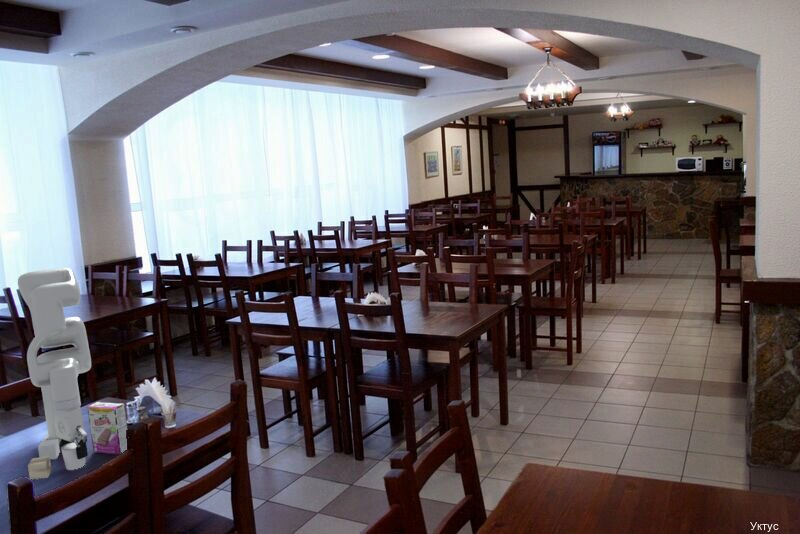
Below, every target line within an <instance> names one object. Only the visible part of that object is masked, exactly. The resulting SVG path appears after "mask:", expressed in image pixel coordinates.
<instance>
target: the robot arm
mask: <svg viewBox="0 0 800 534" xmlns="http://www.w3.org/2000/svg"><path fill="white" fill-rule="evenodd" d="M76 277H77V276H76V275H75V273H74V271H73V270H72V269H71V268H68V267H61V268H54V269H53V268H52V269H43V270H37V271H36V270H35V271H30V272H26V273H23V274H21V275H20V276H19V277H18V278H17V286H18V289H19V293H20V295H21V297H22V299H23V300H24V302H25V303H26V305H27V306H28V308H29V311H30V315H31V323H32V326H33V330H34V331H33V333H34V336H35V337H33V338H32V341H31V342H30V343H29V346H28V348H27V353H26V362H27V368H28V373H29V378H30V381H31V383H32V385H33V386H35V387H37V388H41V393H42V403H43V410H44V415H45V421H46V422H45V423H46V428H47V429H46V430H47V434H46V435H45V436H44V437H43V441H46V440H53V439H58V442H59V448H60V453H61V454H62V450H61V448H62V447H63V446H64V445H66V444H68V443H71V442H75V444H76V446H77V447H76V454H77V459H82V458H84V457H85V458H87V457H88V455H89V453H88V447H87V445H88V433H87V432H86V430H85V429H86V428H85V424H84V422H85V421H84V418H83V417H84V416H83V414H82V411H81V405H82V404H81V403H82V402H81V396H80V390H79V383H78V376H79V374H84V373H87V372H88V371H90V370H91V368H92V357H91V351H90V348H89V346H90V345H89V341H88V335H87V330H86V326H85V324H84V321H83V319H82V318H80V317H79V316H70V317H69V316H68V317H65V313H64V308H68V307H73V306H77V305H79V304H80V302H81V299H82V297H81V289H80V286H79V282H78V281H77V278H76ZM69 345H73V346H74V347H69V348H63V349H57V350H51V351H48V352H44V353H41V354H40V355H38V351H39V349H40V348H41V349H49V348H57V347H61V346H69ZM37 355H38V356H37ZM78 441H79V442H78Z"/></svg>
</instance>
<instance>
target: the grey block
mask: <svg viewBox="0 0 800 534" xmlns="http://www.w3.org/2000/svg"><path fill="white" fill-rule="evenodd" d="M37 450H38V456H39V457H46V456H50V459H52V460H57V459H58V457H59V455H60V454H59V453H61V448H60V444H59V442H58V439H53V440H46V441H44V440H42V441H41V442H40V443H39V445H38V446H37ZM39 457H38V458H39Z"/></svg>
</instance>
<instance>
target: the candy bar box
mask: <svg viewBox="0 0 800 534" xmlns="http://www.w3.org/2000/svg"><path fill="white" fill-rule="evenodd" d="M87 413H88V420H89V428H90V436H91V442H92V450H93V453H98V454H105V455H106V454H108V455H118V454H121V452H122V453H123V452H124V451H125V450H127V439H126V430H128V423H127V417H126V415H127V414H126V407H125V403H117V402H105V401H96V402H94V403H92V404H90V405H89V406H87ZM123 454H124V453H123ZM118 456H119V455H118Z"/></svg>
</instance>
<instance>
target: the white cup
mask: <svg viewBox="0 0 800 534" xmlns="http://www.w3.org/2000/svg"><path fill="white" fill-rule="evenodd" d="M79 441H80V440H78V442H79ZM76 447H77V446H76V444H75V442H74V441H71V443H68V444H66V445H64V446H63V447H62V448H61V447H60V451H61V450H62V453H61V454H62V458H63V461H64V465H65V469H66V470H67V471H75V470H74V469H76V470H79V469H78V468H80V469H82V468H83V466H84V465H85V466H86V464H85V463H86V457H84V458H82V459H77V454H76ZM85 466H84V467H85ZM81 467H82V468H81Z"/></svg>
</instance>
